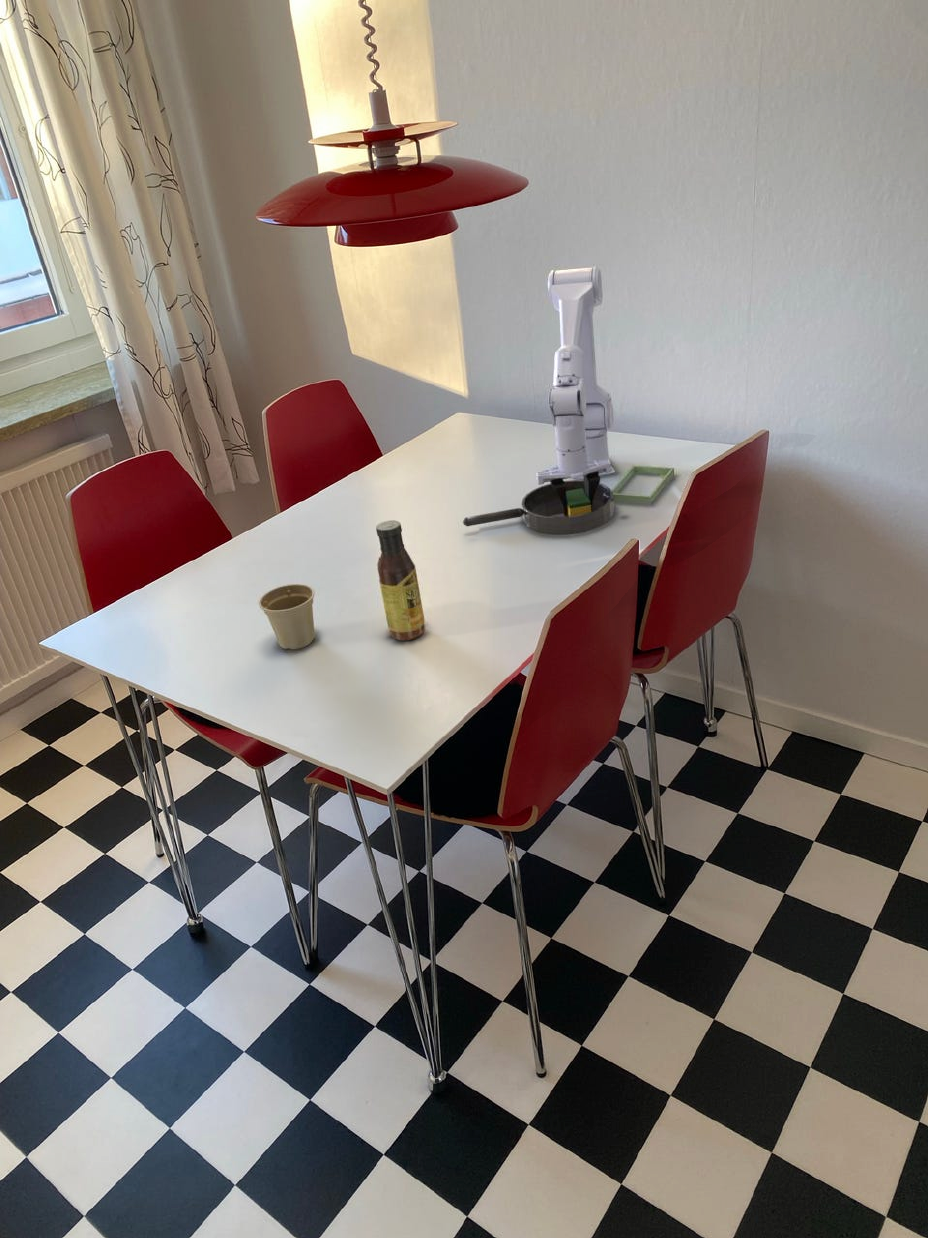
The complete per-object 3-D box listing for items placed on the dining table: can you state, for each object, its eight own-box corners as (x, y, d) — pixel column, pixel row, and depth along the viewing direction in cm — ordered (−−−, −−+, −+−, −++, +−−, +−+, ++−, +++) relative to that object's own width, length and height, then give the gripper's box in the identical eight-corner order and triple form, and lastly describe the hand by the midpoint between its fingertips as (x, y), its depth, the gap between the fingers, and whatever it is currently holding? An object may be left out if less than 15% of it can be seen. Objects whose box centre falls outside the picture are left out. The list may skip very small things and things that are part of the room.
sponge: (563, 508, 199) (561, 491, 197) (583, 505, 199) (582, 488, 197) (571, 522, 193) (569, 505, 191) (591, 519, 193) (590, 501, 191)
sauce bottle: (421, 642, 163) (401, 534, 153) (385, 642, 164) (363, 535, 154) (430, 621, 168) (411, 516, 158) (395, 622, 170) (374, 517, 160)
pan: (517, 507, 204) (514, 489, 202) (601, 492, 205) (600, 474, 203) (532, 543, 189) (530, 524, 187) (624, 526, 189) (623, 507, 187)
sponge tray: (633, 473, 211) (633, 465, 210) (674, 476, 207) (674, 467, 206) (608, 502, 200) (607, 493, 199) (651, 505, 196) (650, 497, 195)
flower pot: (299, 621, 175) (288, 578, 170) (336, 634, 169) (325, 590, 165) (259, 646, 169) (247, 603, 165) (295, 660, 163) (283, 616, 159)
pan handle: (523, 514, 196) (522, 505, 195) (524, 517, 195) (523, 509, 194) (463, 524, 196) (461, 516, 195) (464, 528, 194) (463, 520, 193)
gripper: (538, 459, 185) (545, 525, 192) (613, 446, 186) (617, 512, 193) (531, 447, 191) (538, 511, 198) (604, 434, 192) (608, 498, 199)
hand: (577, 510), depth 196 cm, fingers closed on sponge, 4 cm apart
